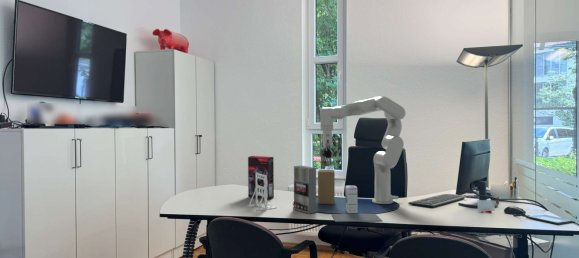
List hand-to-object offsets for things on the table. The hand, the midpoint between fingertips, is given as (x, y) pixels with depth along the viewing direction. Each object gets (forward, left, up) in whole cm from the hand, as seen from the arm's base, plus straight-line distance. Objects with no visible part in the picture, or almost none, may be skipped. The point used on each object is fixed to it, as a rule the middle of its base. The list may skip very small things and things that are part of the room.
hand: (327, 156), depth 238 cm
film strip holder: (+39, +3, -30) cm, 49 cm away
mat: (-11, +30, -29) cm, 43 cm away
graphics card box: (+41, -25, -30) cm, 56 cm away
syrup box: (-11, +17, -29) cm, 36 cm away
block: (0, -7, -30) cm, 30 cm away
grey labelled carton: (+15, +13, -30) cm, 35 cm away
